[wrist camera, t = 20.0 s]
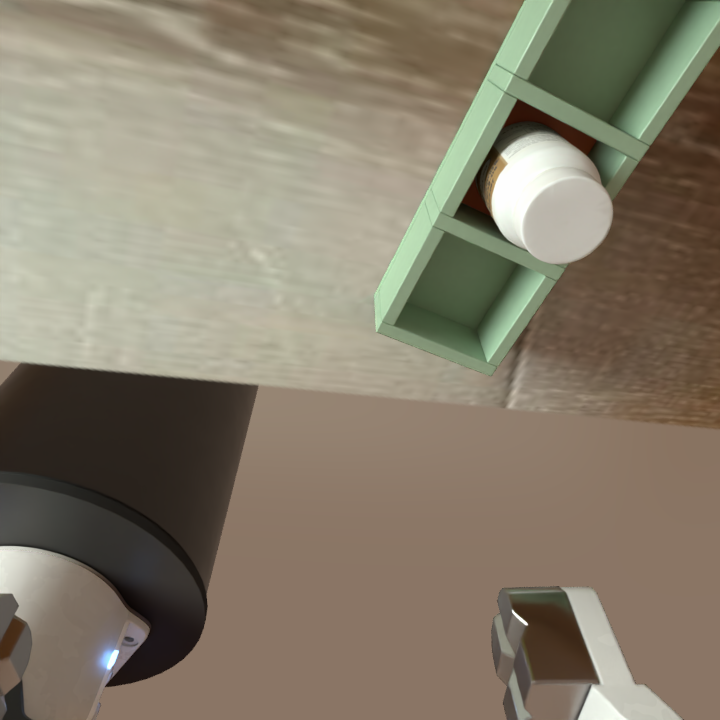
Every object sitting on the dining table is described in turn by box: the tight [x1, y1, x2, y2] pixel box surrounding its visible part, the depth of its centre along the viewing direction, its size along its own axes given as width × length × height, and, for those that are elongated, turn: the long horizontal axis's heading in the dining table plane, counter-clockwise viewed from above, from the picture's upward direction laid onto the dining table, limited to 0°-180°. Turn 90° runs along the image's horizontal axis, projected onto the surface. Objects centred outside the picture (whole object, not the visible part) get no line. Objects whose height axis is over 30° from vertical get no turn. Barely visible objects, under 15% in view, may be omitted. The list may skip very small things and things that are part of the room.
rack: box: [374, 0, 720, 376], centre depth 27 cm, size 19×7×4 cm, turn 156°
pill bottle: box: [475, 121, 613, 264], centre depth 25 cm, size 4×4×8 cm
